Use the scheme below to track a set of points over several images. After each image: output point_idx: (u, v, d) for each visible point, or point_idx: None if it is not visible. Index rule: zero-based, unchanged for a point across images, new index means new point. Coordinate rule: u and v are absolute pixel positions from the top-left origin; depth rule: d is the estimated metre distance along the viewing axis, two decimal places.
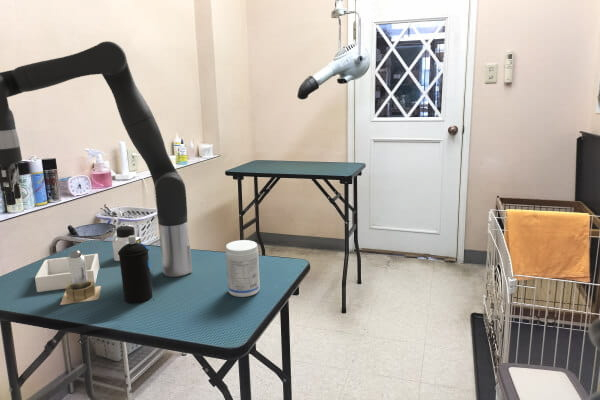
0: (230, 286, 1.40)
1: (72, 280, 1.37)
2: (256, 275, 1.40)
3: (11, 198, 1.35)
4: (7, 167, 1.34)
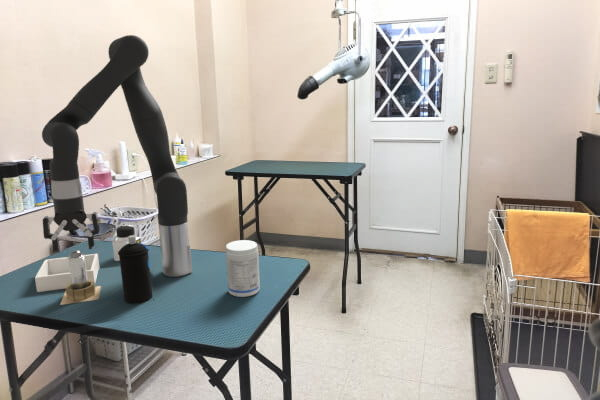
0: (230, 286, 1.40)
1: (72, 280, 1.37)
2: (256, 275, 1.40)
3: (93, 240, 1.39)
4: (84, 212, 1.36)
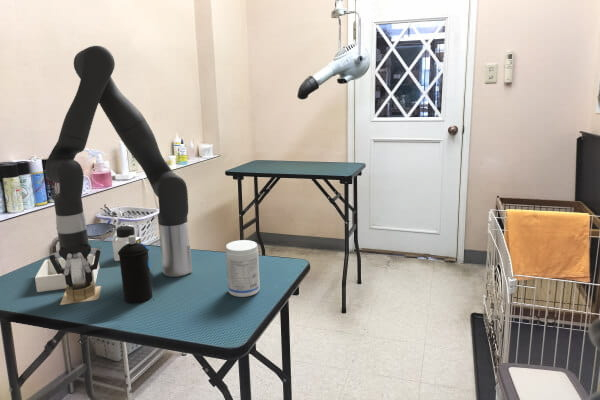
0: (230, 286, 1.40)
1: (72, 280, 1.37)
2: (256, 275, 1.40)
3: (92, 275, 1.40)
4: None
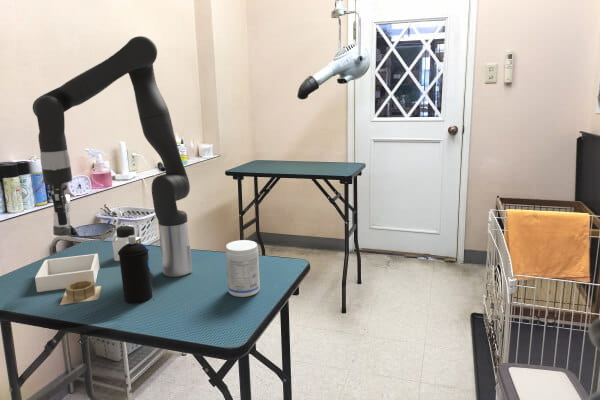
0: (230, 286, 1.40)
1: None
2: (256, 275, 1.40)
3: None
4: None
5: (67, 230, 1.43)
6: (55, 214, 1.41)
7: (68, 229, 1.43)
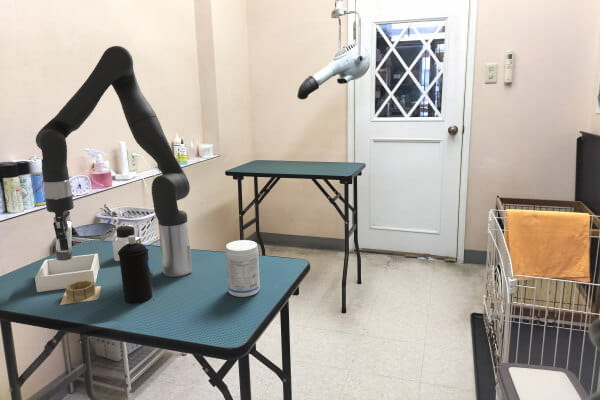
0: (230, 286, 1.40)
1: None
2: (256, 275, 1.40)
3: None
4: None
5: (68, 255, 1.50)
6: (57, 240, 1.48)
7: (69, 254, 1.50)
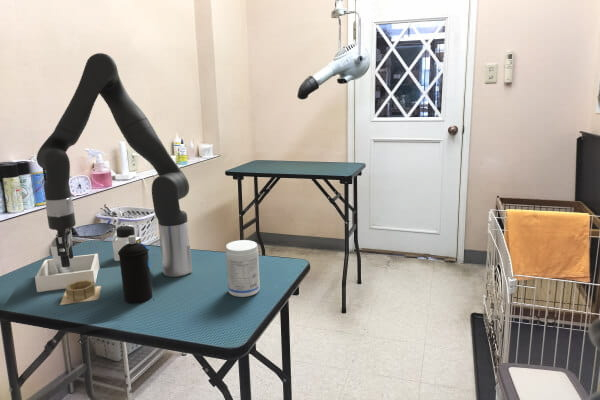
0: (230, 286, 1.40)
1: None
2: (256, 275, 1.40)
3: None
4: None
5: None
6: (55, 264, 1.49)
7: None
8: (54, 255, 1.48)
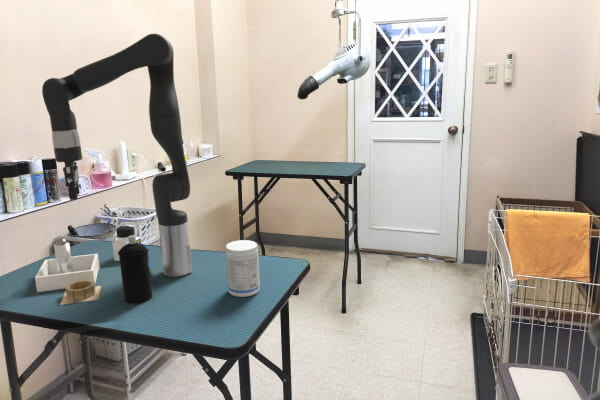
0: (230, 286, 1.40)
1: (67, 265, 1.50)
2: (256, 275, 1.40)
3: None
4: None
5: None
6: (57, 263, 1.49)
7: None
8: (57, 254, 1.49)
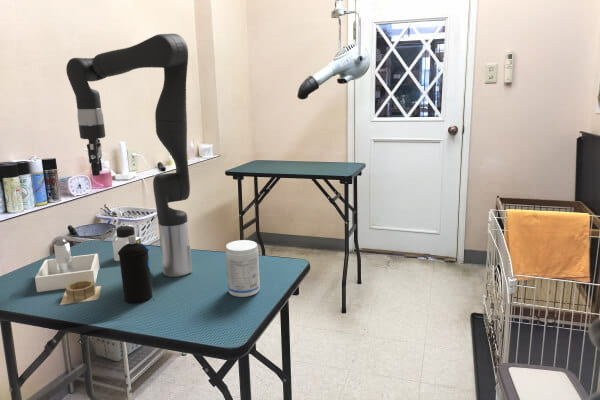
0: (230, 286, 1.40)
1: (67, 265, 1.50)
2: (256, 275, 1.40)
3: None
4: None
5: None
6: (57, 263, 1.49)
7: None
8: (57, 254, 1.48)
